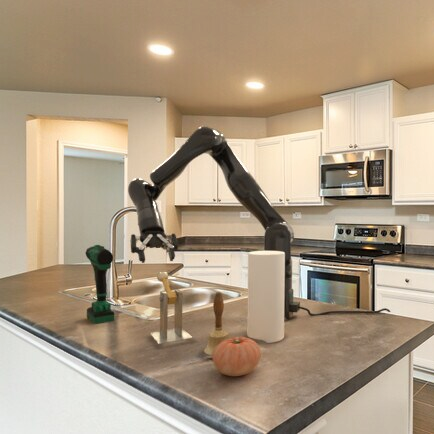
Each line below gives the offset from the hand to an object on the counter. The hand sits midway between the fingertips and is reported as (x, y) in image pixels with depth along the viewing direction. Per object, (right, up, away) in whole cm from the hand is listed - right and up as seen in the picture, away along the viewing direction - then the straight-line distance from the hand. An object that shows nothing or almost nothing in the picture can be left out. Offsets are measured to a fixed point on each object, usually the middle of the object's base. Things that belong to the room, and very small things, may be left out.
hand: (158, 260), depth 122 cm
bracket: (+9, -21, -13) cm, 26 cm away
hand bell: (+26, -22, -23) cm, 41 cm away
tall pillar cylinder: (+36, -22, -10) cm, 43 cm away
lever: (+6, -8, -8) cm, 13 cm away
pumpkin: (+33, -22, -35) cm, 53 cm away
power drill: (-26, -21, +10) cm, 35 cm away
